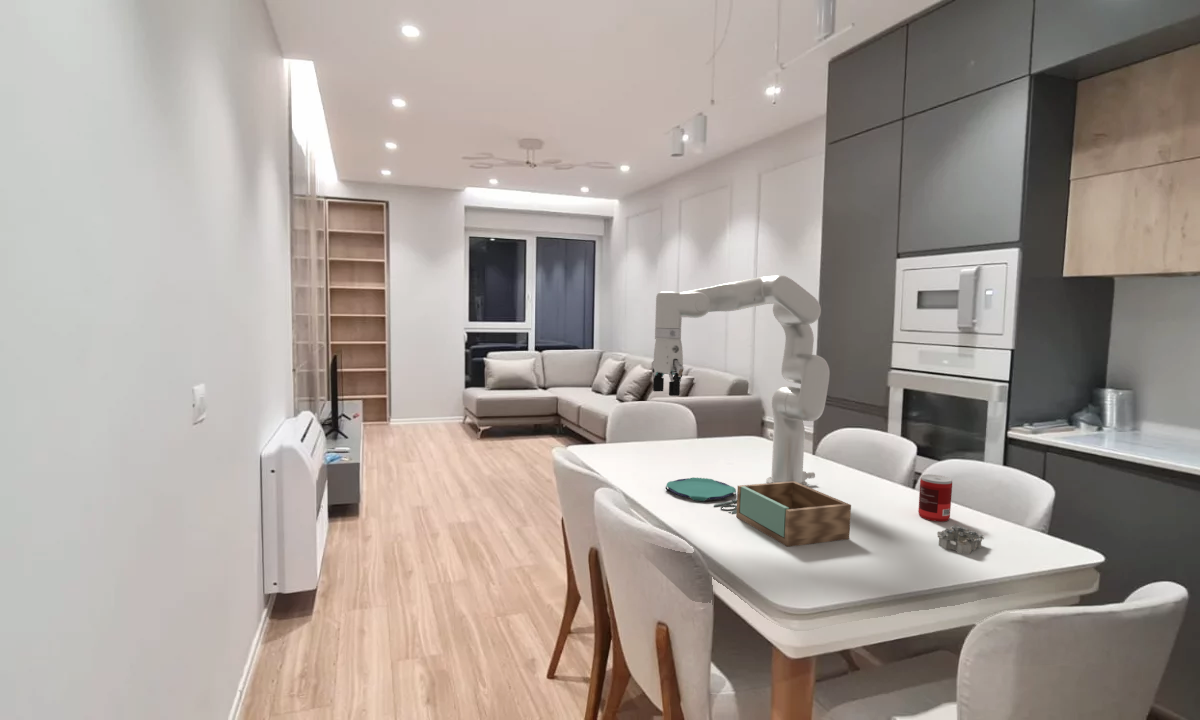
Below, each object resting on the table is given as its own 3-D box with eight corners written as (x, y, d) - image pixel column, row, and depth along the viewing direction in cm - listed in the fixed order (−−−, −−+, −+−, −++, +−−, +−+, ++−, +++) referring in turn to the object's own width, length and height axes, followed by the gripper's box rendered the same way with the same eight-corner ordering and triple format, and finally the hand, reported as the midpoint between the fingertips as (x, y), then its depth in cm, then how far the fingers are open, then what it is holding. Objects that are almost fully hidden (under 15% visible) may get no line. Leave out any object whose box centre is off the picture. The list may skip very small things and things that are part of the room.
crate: (792, 511, 171) (794, 481, 170) (849, 539, 150) (851, 504, 150) (736, 516, 165) (737, 485, 164) (787, 546, 144) (789, 511, 144)
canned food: (948, 515, 171) (951, 476, 170) (951, 523, 163) (953, 483, 163) (917, 511, 174) (919, 472, 173) (918, 519, 167) (921, 479, 166)
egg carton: (966, 557, 141) (967, 539, 141) (932, 546, 148) (933, 529, 147) (986, 547, 148) (988, 530, 147) (953, 537, 154) (955, 521, 153)
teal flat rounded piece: (702, 480, 201) (703, 473, 201) (774, 507, 176) (774, 500, 175) (654, 489, 190) (654, 482, 190) (723, 519, 165) (723, 511, 165)
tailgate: (743, 512, 164) (744, 486, 163) (787, 536, 146) (789, 507, 145) (739, 512, 163) (740, 486, 163) (783, 537, 146) (784, 508, 145)
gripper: (694, 336, 171) (692, 397, 173) (665, 333, 187) (663, 389, 188) (670, 335, 168) (668, 397, 170) (643, 333, 184) (641, 390, 186)
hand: (665, 393), depth 179 cm, fingers open, 9 cm apart
